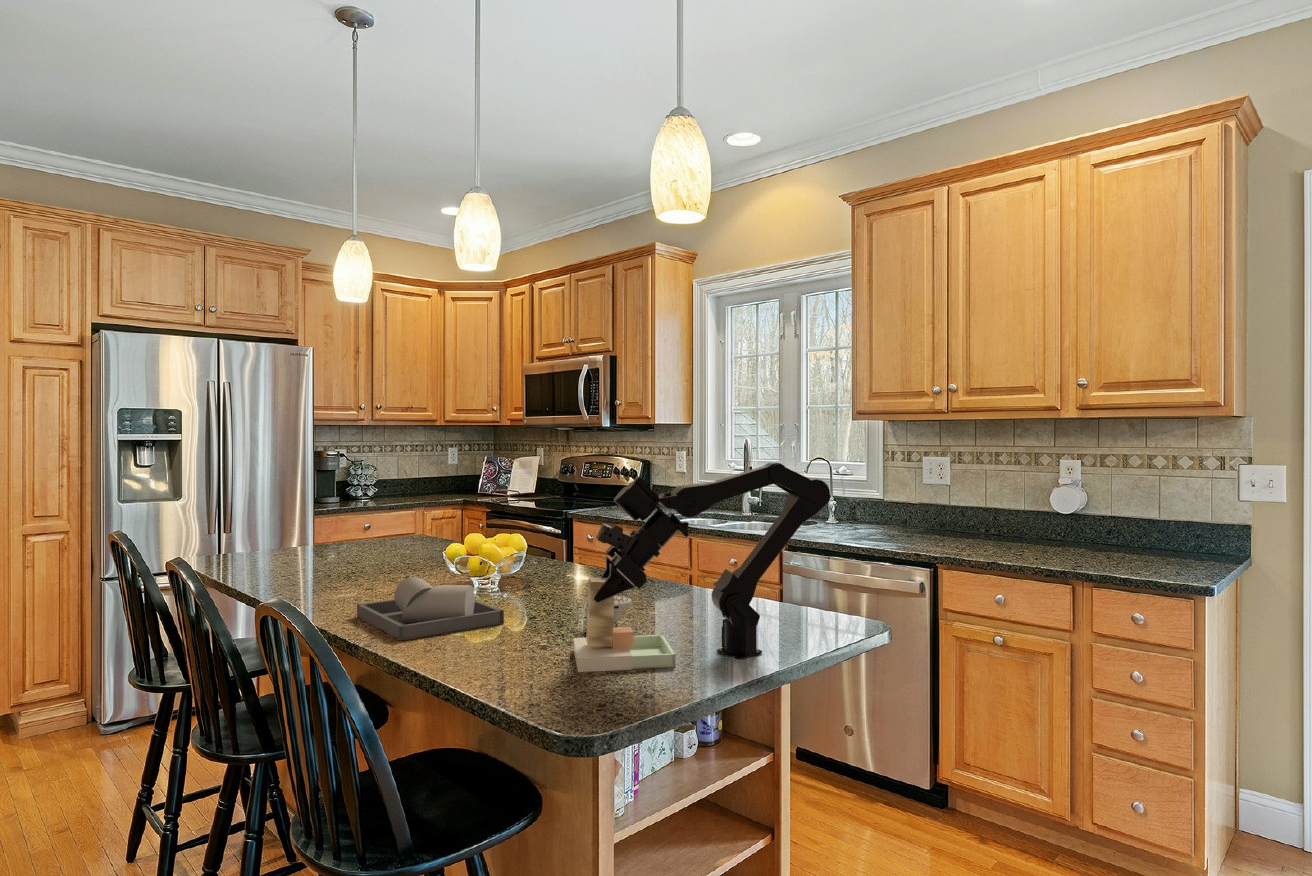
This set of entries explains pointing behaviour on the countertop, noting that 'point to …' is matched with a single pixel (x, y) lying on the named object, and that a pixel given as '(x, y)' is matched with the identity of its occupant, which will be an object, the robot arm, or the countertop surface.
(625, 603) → the showerhead
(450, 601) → the elbow connector
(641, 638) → the tray
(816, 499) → the robot arm
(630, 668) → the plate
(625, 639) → the peach rectangular box
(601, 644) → the block
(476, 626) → the divided desk organizer
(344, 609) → the countertop surface
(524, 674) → the countertop surface
